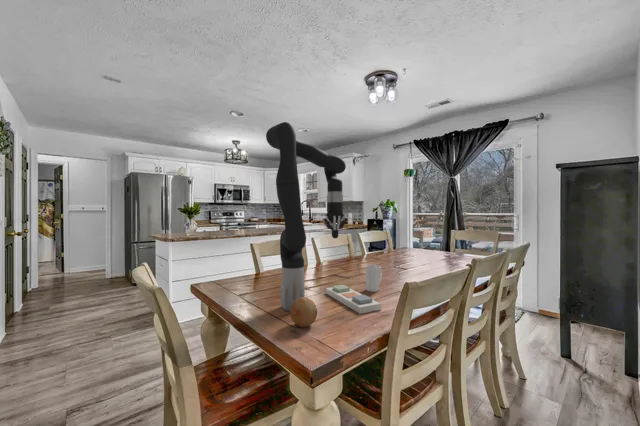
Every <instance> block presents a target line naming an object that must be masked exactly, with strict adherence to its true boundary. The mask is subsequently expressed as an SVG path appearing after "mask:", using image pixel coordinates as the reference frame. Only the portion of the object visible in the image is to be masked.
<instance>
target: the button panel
mask: <svg viewBox="0 0 640 426" xmlns="http://www.w3.org/2000/svg"><path fill="white" fill-rule="evenodd" d="M352 292H354V293H356V294H358V295H363V294H362V293H360V292H357V291H356V290H354V289H352V288H350V291H347V292H340V293H338V292H336V291H334V290H333V286H332V287H326V288H325V294H327V295H328V296H330V297H331V298H334V299H335V300H336V301H338V302H340V303H341V304H343V305H345V306H346V307H348V308H349V309H352V310H353V311H355V312H356V313H358V314H359V315H360V314H366V313H369V312H370V313H371V312H376V311H381V310H382V304H381V303H380V302H378V301H376V300H374V299H372V303H367V304H361V305H359V304H358V303H356V302H354V301H352V298H347V297H345V296H343V295H342V294H345V293H352Z"/></svg>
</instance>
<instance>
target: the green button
mask: <svg viewBox="0 0 640 426" xmlns="http://www.w3.org/2000/svg"><path fill="white" fill-rule="evenodd" d="M332 287H333V290H334V291H336V292H338V293H340V292H347V291H350V289H351V287H350V286H347V285H345V284H339V285H332Z"/></svg>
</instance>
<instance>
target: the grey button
mask: <svg viewBox="0 0 640 426" xmlns="http://www.w3.org/2000/svg"><path fill="white" fill-rule="evenodd" d="M372 300H373V298H372V297H370V296H368V295H366V294H362V295H359V296H352V301H354V302H356V303H358V304H359V305H361V304H367V303H372Z"/></svg>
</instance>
